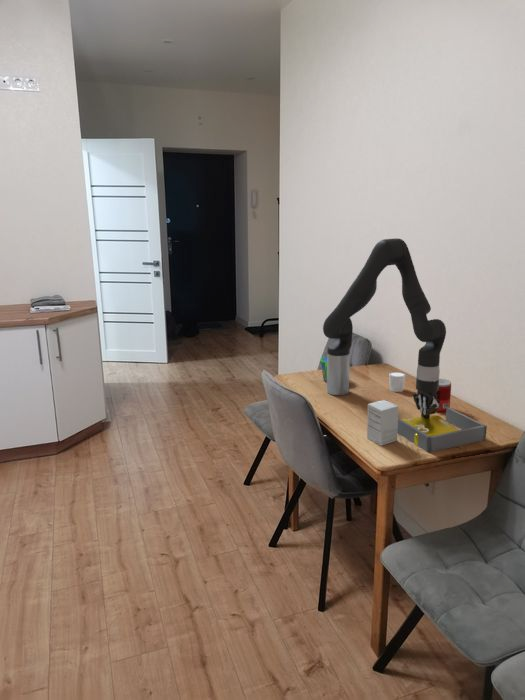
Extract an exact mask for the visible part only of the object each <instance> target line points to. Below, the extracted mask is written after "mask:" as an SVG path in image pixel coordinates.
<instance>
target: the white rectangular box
mask: <svg viewBox="0 0 525 700" xmlns="http://www.w3.org/2000/svg"><path fill="white" fill-rule="evenodd" d="M398 418H399V405H397V404H395V403H392V402H390V401H387V400H385V399H382V400H379V401H374V402H370V403H368V404H367V421H366V422H367V423H366V428H367V429H366V430H367V431H366V438H367V440H370V441H371V442H374V443H375V444H377V445H379V446H384V445H388V444H392V443H395V442H397V441H398V433H397V430H398Z"/></svg>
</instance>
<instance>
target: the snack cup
mask: <svg viewBox="0 0 525 700" xmlns="http://www.w3.org/2000/svg"><path fill="white" fill-rule="evenodd" d="M319 363H320V364H321V371H322V373H321V374H322V379H323V381H324V382H326V383H327V356H322V357H321V358H320V360H319Z"/></svg>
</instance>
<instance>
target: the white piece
mask: <svg viewBox="0 0 525 700" xmlns="http://www.w3.org/2000/svg"><path fill="white" fill-rule="evenodd" d="M388 378H389V379H388V382H389V390H390V391H391V392H393V393H401V392H403V391H404V388H405V380H406V374H405V373H404V372H399V371H396V372H395V371H393V372H389V374H388Z"/></svg>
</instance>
